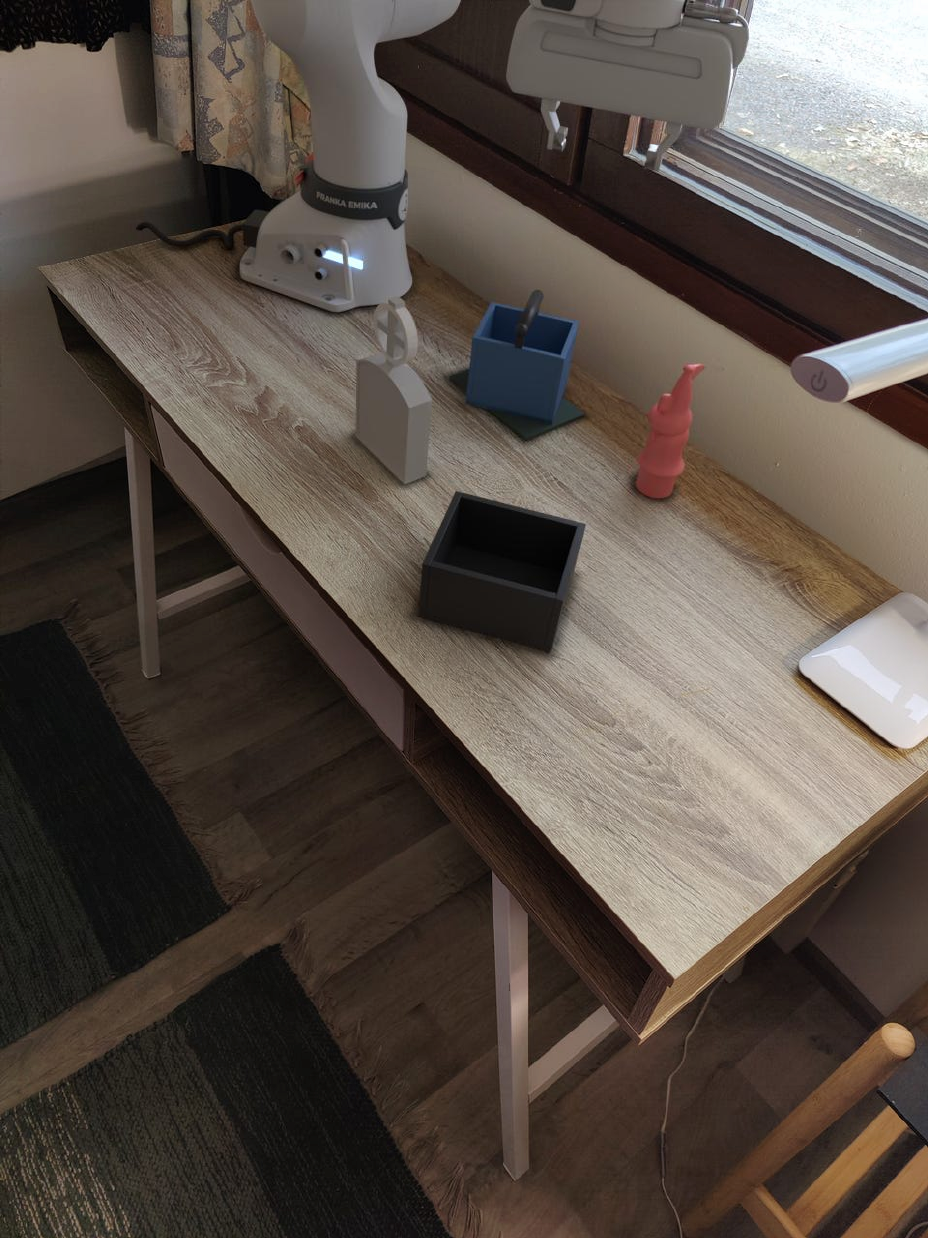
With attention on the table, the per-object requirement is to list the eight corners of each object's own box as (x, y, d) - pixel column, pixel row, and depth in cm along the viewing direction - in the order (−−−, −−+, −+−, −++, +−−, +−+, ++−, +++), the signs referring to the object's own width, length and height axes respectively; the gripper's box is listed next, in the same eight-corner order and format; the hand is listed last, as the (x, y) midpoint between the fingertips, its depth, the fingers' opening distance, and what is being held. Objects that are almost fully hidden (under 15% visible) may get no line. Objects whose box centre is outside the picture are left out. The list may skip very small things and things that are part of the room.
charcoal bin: (417, 616, 86) (422, 563, 81) (449, 543, 93) (455, 490, 88) (550, 652, 85) (563, 601, 80) (573, 575, 92) (586, 523, 87)
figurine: (648, 464, 105) (684, 343, 94) (686, 487, 103) (727, 366, 92) (620, 483, 102) (653, 360, 91) (658, 507, 100) (697, 385, 89)
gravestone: (376, 428, 105) (381, 274, 91) (426, 475, 100) (438, 320, 87) (355, 436, 103) (357, 280, 90) (404, 484, 99) (413, 327, 85)
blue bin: (464, 405, 108) (473, 316, 100) (484, 364, 114) (495, 277, 106) (551, 426, 107) (568, 337, 99) (566, 384, 113) (584, 297, 105)
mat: (448, 378, 112) (449, 375, 112) (506, 357, 117) (507, 354, 116) (525, 441, 106) (526, 438, 105) (584, 416, 110) (585, 413, 110)
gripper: (759, 2, 82) (714, 167, 92) (529, -38, 85) (510, 126, 95) (753, 21, 78) (707, 192, 88) (511, -22, 80) (494, 149, 90)
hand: (603, 158), depth 91 cm, fingers open, 8 cm apart
